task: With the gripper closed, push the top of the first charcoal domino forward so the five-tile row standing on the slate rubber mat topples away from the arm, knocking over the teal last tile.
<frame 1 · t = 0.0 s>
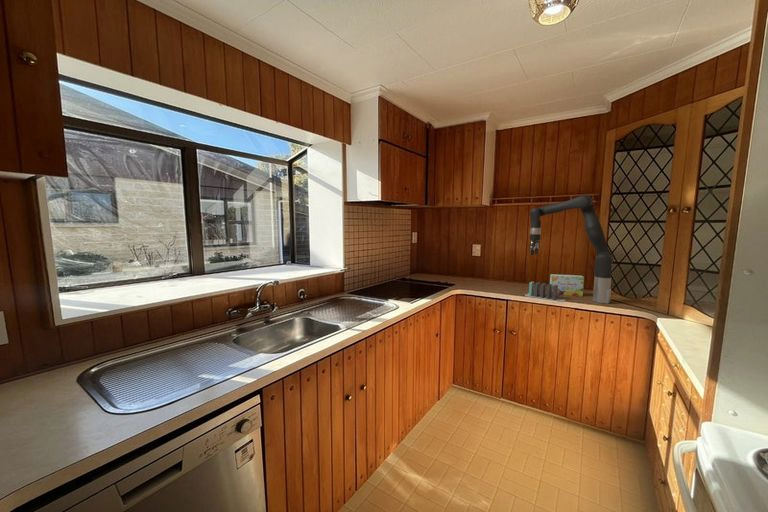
hand: (534, 254, 237), 29 cm above the worktop, fingers open, 8 cm apart
domino 1: (554, 299, 214), resting on mat
domino 2: (548, 298, 217), resting on mat
domino 3: (542, 297, 220), resting on mat
mat: (544, 297, 219), on the worktop
snack box: (565, 295, 228), on the worktop
domino 5: (531, 295, 225), resting on mat
domino 4: (536, 296, 223), resting on mat
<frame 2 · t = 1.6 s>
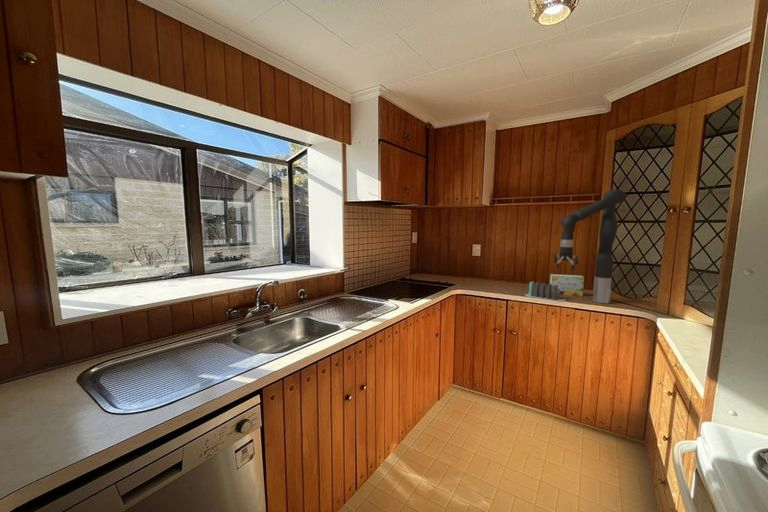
hand: (565, 269, 208), 22 cm above the worktop, fingers open, 8 cm apart
nothing on the worktop moved.
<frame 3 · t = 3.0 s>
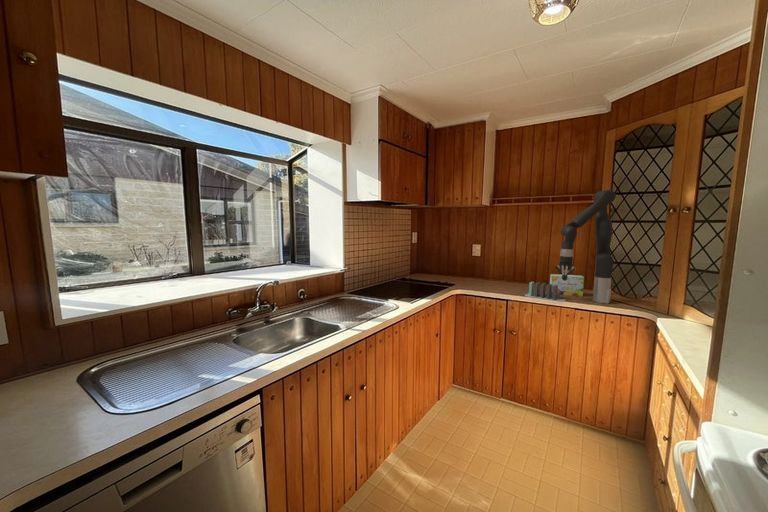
hand: (564, 280, 209), 15 cm above the worktop, fingers closed
nothing on the worktop moved.
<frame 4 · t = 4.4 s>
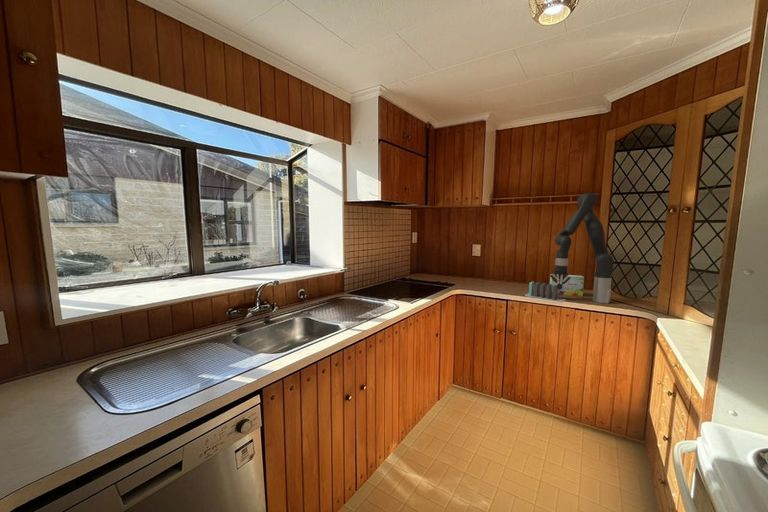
hand: (559, 289, 211), 8 cm above the worktop, fingers closed
nothing on the worktop moved.
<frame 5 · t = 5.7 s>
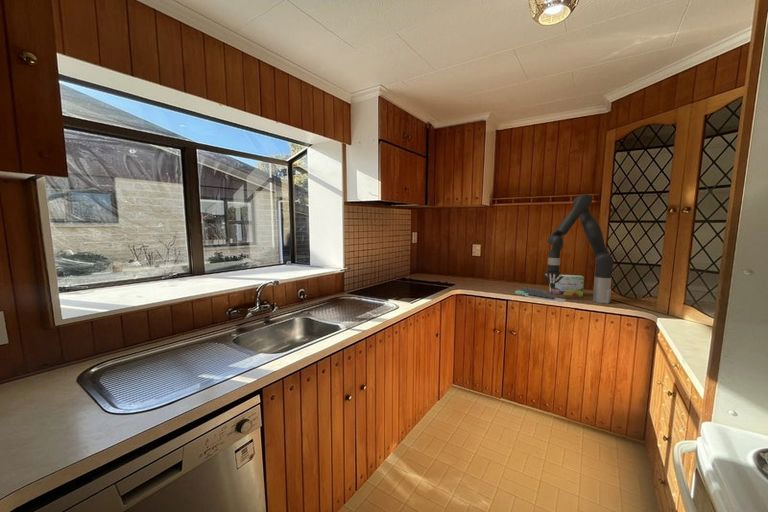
hand: (552, 288, 215), 8 cm above the worktop, fingers closed
domino 1: (553, 298, 215), point 1 cm above the worktop, tilted 67°, touching domino 2, mat
domino 2: (546, 296, 218), point 1 cm above the worktop, tilted 66°, touching domino 1, domino 3, mat
domino 3: (540, 296, 221), point 1 cm above the worktop, tilted 66°, touching domino 2, domino 4, mat
domino 5: (529, 294, 226), point 1 cm above the worktop, tilted 90°, touching domino 4, mat
domino 4: (535, 294, 223), point 1 cm above the worktop, tilted 66°, touching domino 3, domino 5
everything else where it was.
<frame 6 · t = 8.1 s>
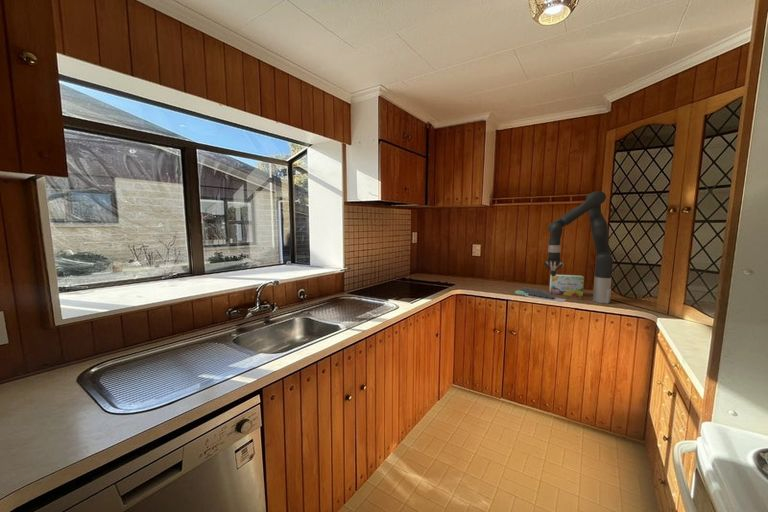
hand: (553, 276, 213), 17 cm above the worktop, fingers closed
nothing on the worktop moved.
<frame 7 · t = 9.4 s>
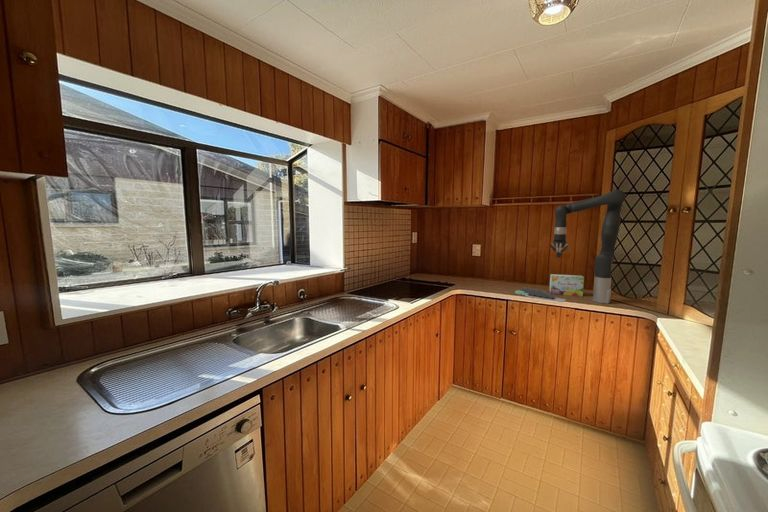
hand: (558, 257, 219), 29 cm above the worktop, fingers closed
nothing on the worktop moved.
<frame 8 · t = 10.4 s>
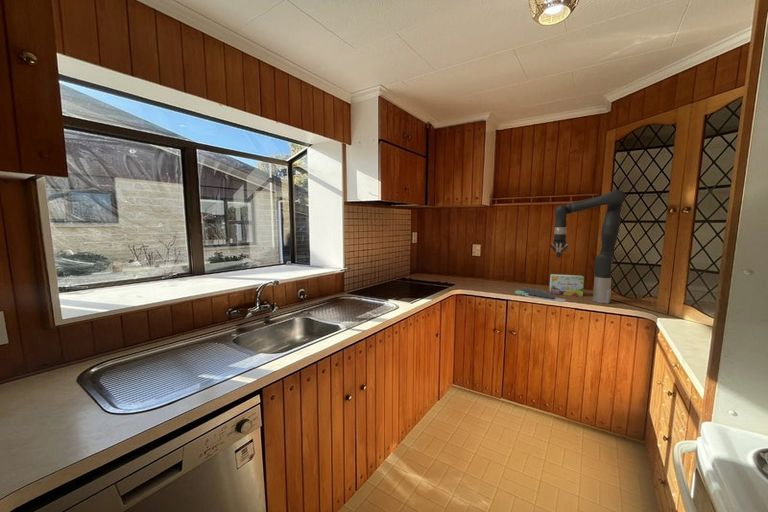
hand: (558, 257, 219), 29 cm above the worktop, fingers closed
nothing on the worktop moved.
at the end: domino 5 tilted 90°; domino 1 tilted 67° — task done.
